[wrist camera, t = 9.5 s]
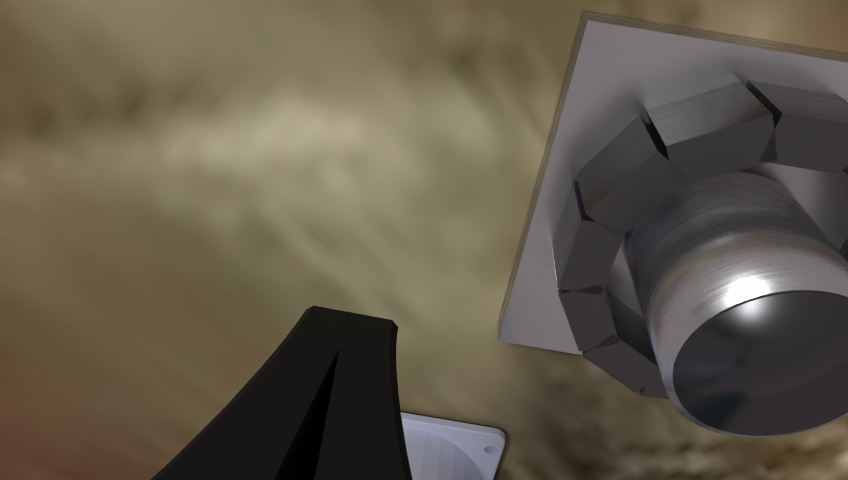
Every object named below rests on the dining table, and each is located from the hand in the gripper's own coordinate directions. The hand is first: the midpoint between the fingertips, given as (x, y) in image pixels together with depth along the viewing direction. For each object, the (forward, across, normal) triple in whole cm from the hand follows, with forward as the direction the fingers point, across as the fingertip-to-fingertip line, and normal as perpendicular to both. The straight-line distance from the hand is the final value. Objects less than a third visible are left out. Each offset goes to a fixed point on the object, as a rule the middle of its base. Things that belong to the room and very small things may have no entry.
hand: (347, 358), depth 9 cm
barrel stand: (+10, -10, +2) cm, 14 cm away
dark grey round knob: (+9, -9, +2) cm, 13 cm away
